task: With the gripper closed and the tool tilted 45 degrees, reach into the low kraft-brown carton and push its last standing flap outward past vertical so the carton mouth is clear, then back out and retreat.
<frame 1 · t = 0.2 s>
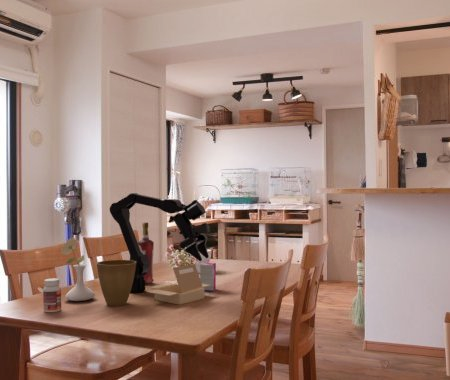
hand: (204, 259, 209), 15 cm above the table, tool tilted 30°, fingers open, 9 cm apart
plant pot: (117, 304, 196), on the table
pill bottle: (52, 311, 187), on the table
carton: (179, 299, 203), on the table
liquor: (146, 283, 236), on the table
flap: (188, 277, 200), point 9 cm above the table, hinge at -25.0°
flower in vase: (78, 300, 203), on the table
supplement box: (208, 290, 220), on the table
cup: (200, 272, 266), on the table
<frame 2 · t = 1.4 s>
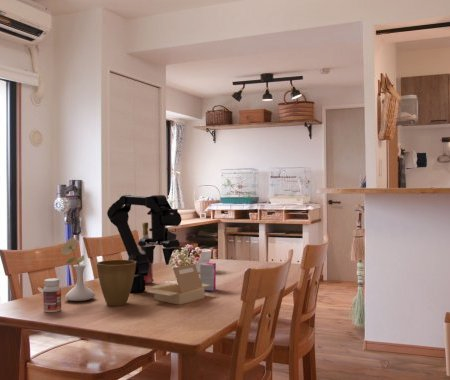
hand: (159, 263, 210), 13 cm above the table, tool pointing down, fingers open, 9 cm apart
nothing on the table moved.
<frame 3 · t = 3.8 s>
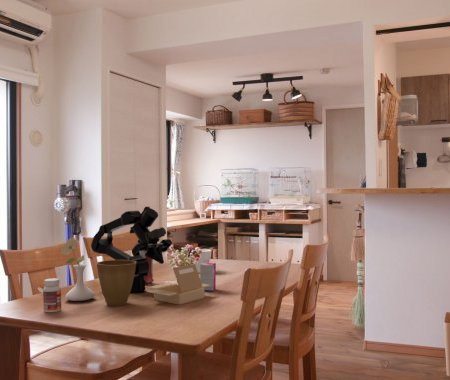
hand: (162, 263, 208), 13 cm above the table, tool tilted 45°, fingers closed
nothing on the table moved.
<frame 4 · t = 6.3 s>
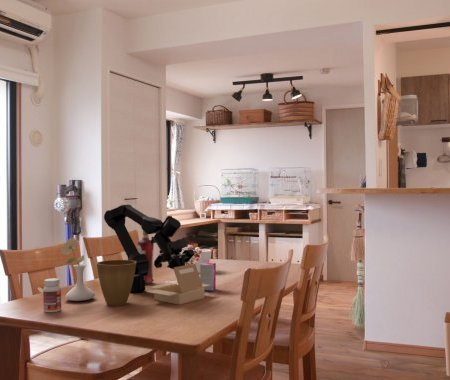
hand: (186, 274, 200), 10 cm above the table, tool tilted 45°, fingers closed, pressing on flap
flap: (188, 277, 200), point 9 cm above the table, hinge at -23.9°, touching gripper
everything else where it was.
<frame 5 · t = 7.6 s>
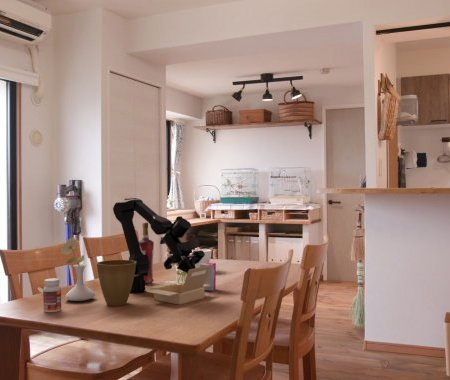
hand: (196, 276, 197), 10 cm above the table, tool tilted 45°, fingers closed, pressing on flap
flap: (196, 278, 197), point 9 cm above the table, hinge at 25.5°, touching gripper
everything else where it was.
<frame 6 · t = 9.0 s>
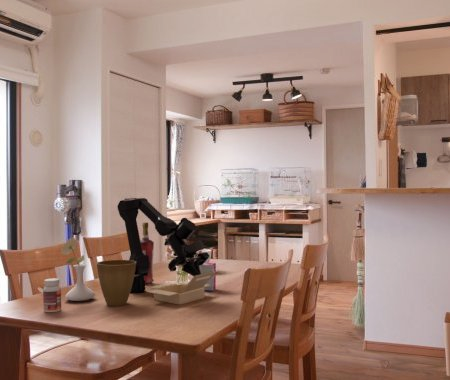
hand: (200, 278, 196), 9 cm above the table, tool tilted 45°, fingers closed, pressing on flap
flap: (199, 281, 196), point 8 cm above the table, hinge at 46.4°, touching gripper
everything else where it was.
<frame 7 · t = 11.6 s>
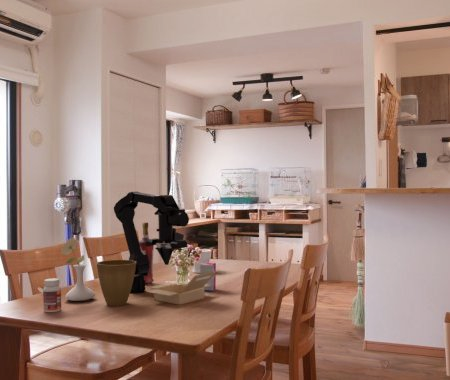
hand: (166, 264, 207), 13 cm above the table, tool pointing down, fingers closed
flap: (199, 281, 196), point 8 cm above the table, hinge at 46.5°
everything else where it was.
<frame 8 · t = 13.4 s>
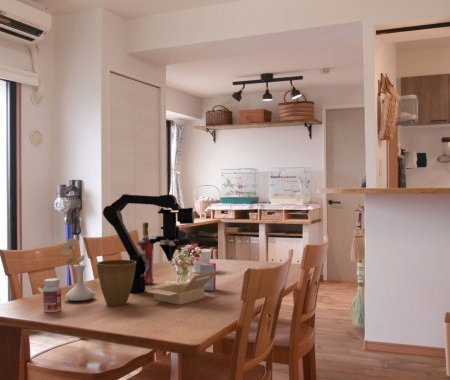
hand: (170, 260, 217), 13 cm above the table, tool pointing down, fingers closed
nothing on the table moved.
at the end: flap at +46° (first picture: -25°) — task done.
